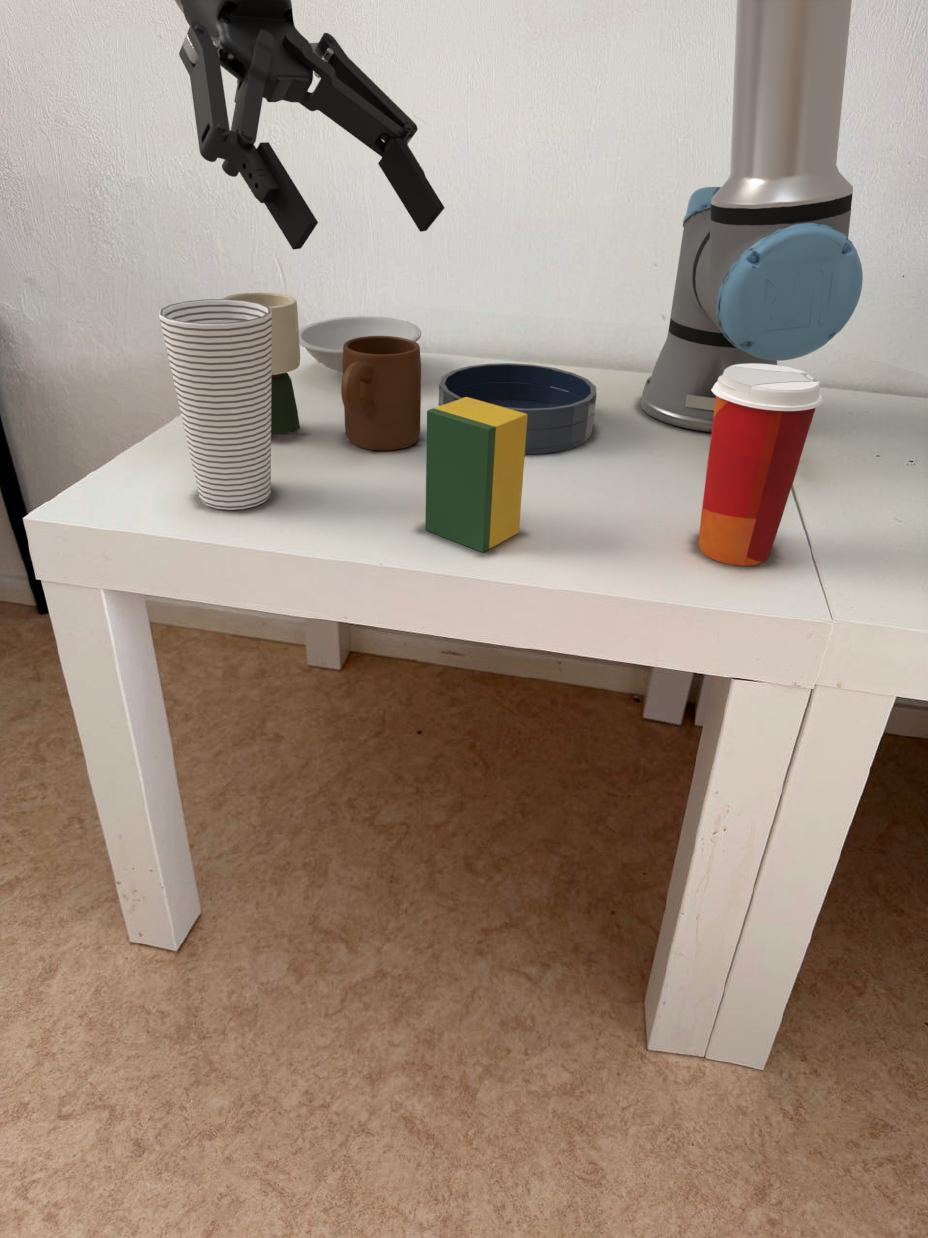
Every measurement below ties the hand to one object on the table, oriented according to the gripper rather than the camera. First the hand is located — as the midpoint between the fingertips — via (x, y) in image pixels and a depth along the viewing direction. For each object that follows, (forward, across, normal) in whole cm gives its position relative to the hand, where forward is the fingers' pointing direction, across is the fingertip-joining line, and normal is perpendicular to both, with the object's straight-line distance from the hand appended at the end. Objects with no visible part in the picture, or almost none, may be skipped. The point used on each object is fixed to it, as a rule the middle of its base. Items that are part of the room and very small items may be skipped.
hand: (373, 227), depth 66 cm
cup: (+9, +9, -22) cm, 25 cm away
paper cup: (+35, -12, +4) cm, 37 cm away
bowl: (+14, -23, -17) cm, 32 cm away
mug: (+9, -8, -22) cm, 25 cm away
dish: (-4, -25, -34) cm, 43 cm away
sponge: (+23, 0, -8) cm, 24 cm away
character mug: (+2, -4, -29) cm, 29 cm away
